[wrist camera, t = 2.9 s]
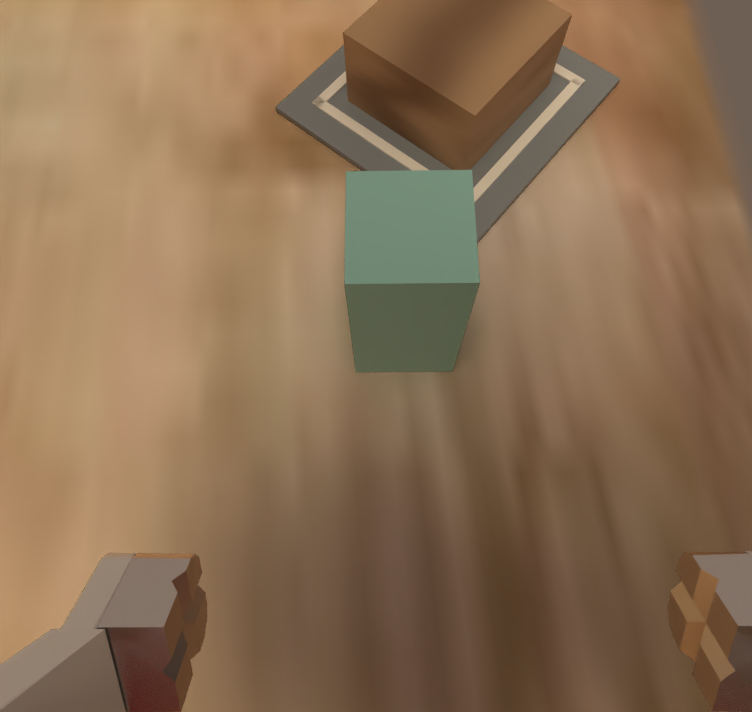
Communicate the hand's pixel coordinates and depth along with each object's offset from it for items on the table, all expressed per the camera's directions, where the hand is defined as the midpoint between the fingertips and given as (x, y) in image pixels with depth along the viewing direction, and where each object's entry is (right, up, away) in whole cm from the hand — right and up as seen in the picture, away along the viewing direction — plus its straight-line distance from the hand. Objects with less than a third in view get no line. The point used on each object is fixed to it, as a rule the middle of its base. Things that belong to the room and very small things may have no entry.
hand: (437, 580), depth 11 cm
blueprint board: (+2, +17, +20) cm, 26 cm away
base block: (+2, +17, +20) cm, 26 cm away
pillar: (0, +5, +16) cm, 17 cm away
